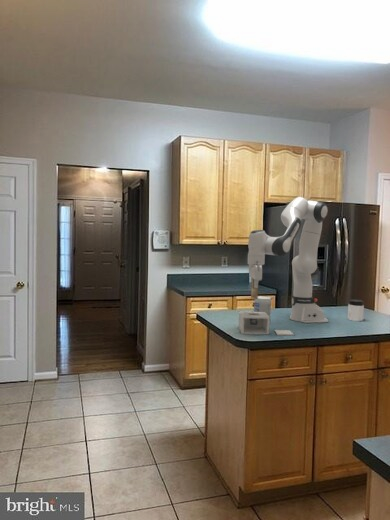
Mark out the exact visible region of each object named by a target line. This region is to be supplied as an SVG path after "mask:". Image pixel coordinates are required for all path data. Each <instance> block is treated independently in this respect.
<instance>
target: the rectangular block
mask: <svg viewBox="0 0 390 520" xmlns="http://www.w3.org/2000/svg"><path fill="white" fill-rule="evenodd" d="M258 294H259V286H258V287H257V288H254V279H253V278H252V277H251V290H250V299H251V300H255V299H258V296H259V295H258Z"/></svg>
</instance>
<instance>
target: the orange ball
mask: <svg viewBox="0 0 390 520" xmlns="http://www.w3.org/2000/svg"><path fill="white" fill-rule="evenodd" d="M257 320H258V318H250V324H251V325H257Z"/></svg>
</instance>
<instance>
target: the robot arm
mask: <svg viewBox="0 0 390 520" xmlns="http://www.w3.org/2000/svg"><path fill="white" fill-rule="evenodd" d="M328 213H329V208H328V206H327V204H326V203H325V202H323V201H315V200H309V199H308V200H307V199H306V198H305V197H303V196H297V197H295V198H293V200H292V201H290V202H289V204H287V205H286V207H285V208H284V209H283V210H282V212H281V214H280V221H281V222H282V224H283V225H284V227H286V231H285V232H284V234H283V235H281V236H270V235H268V234H267V233H266V231H265V230H264V229H255V230H252V231H251V232H250V233H249V235H248V252H247V265H248V275H249V277H250V278H251V279H252V278H253V279H254V288H257V287H258V288H259V282H260V281H262V280H263V266H264V265H265V264H266V263H265V262H266V261H265V259H266V255H269V256H276V257H281V258H282V257H286V256H287V255H288V254H289V253H290V251H291V247H292V245H293V242H294V240H295V239H296V237H297V235H298V233H299V231H300V229H301V227H302V226H303V227H302V229H301V234H300V237H299V243H298V245H299V248H298V250H299V251H298V255H296V256H295V257H293V259H292V261H291V266H292V279H293V290H292V291H293V292H292V297H291V305H292V307H291V312H290V316H289V320H292V321H295V322H301V323H304V324H305V323H307V324H308V323H310V324H311V323H315V324H316V323H328V322H329V319H328V318H327V317H326V316H325V312H324V310H323V308H321V307H320V306H319V305H317V303H316V302H318V298H315V297H313V285H314V284H313V281H312V274H313V273H315V272H316V270H317V269H318V263H317V262H318V248H319V244H320V239H321V236H322V235H321V234H322V230H323V221H324V220H325V219H326V217H327V216H328ZM302 220H305V221H304V223H303V225H302Z"/></svg>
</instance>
